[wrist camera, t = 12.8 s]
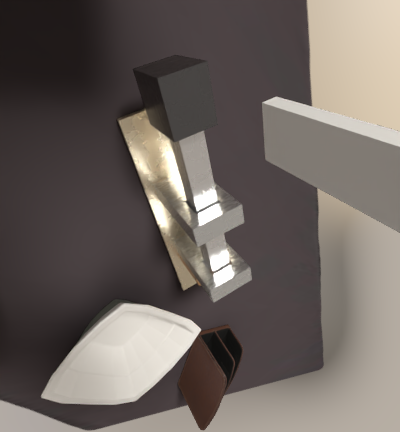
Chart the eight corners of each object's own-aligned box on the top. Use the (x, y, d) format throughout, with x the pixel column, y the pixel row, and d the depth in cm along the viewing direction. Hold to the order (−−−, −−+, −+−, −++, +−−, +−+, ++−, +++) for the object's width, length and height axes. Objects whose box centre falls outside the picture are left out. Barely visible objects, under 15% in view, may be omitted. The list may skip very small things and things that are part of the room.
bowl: (125, 369, 65) (137, 406, 59) (24, 355, 49) (25, 403, 43) (191, 297, 63) (210, 327, 57) (107, 260, 48) (121, 296, 42)
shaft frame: (181, 287, 60) (216, 342, 50) (116, 118, 37) (155, 155, 27) (222, 264, 63) (263, 311, 52) (184, 93, 40) (243, 117, 30)
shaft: (192, 258, 48) (213, 286, 43) (132, 68, 30) (157, 78, 25) (218, 245, 50) (241, 270, 45) (175, 54, 31) (207, 61, 26)
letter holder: (177, 383, 79) (201, 437, 69) (195, 331, 71) (226, 384, 61) (207, 372, 84) (234, 421, 74) (228, 323, 76) (261, 370, 66)
